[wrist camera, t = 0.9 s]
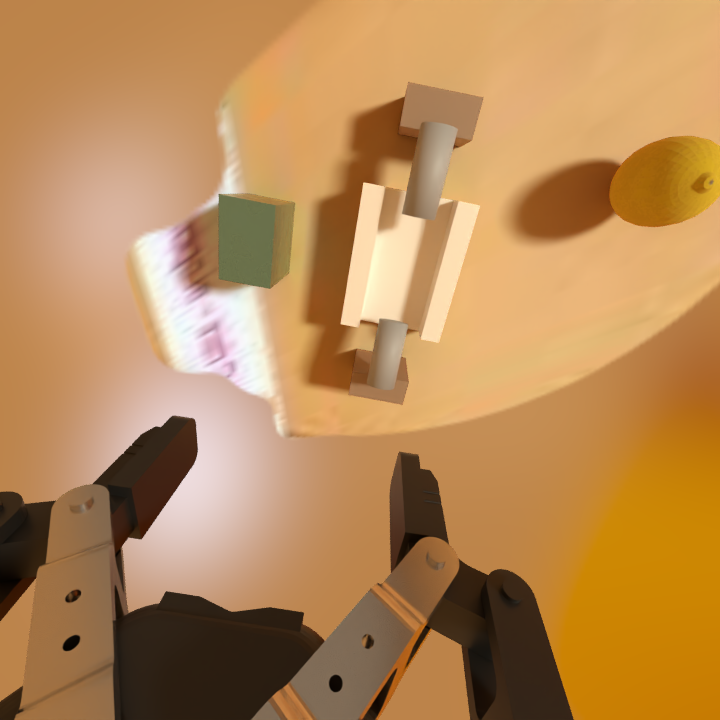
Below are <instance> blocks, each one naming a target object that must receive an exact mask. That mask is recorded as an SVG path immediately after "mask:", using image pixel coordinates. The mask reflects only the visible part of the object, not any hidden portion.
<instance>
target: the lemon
mask: <svg viewBox="0 0 720 720" xmlns="http://www.w3.org/2000/svg"><path fill="white" fill-rule="evenodd" d="M719 196H720V146H719V145H717V144H716V143H714V142H712V141H711V140H708V139H703V138H699V137H694V136H679V137H669V138H665V139H662V140H659V141H656V142H653V143H650V144H648V145H646V146H644V147H643V148H641V149H639V150H638V151H636V152H634V153H633V154H632V155H631V156H630V157H629V158H627V159H626V160H625V161H624V162H623V163H622V165H621V166H620V167H619V168H618V170H617V171H616V173H615V175H614V177H613V179H612V181H611V185H610V189H609V199H610V203H611V206H612V208H613V210H614V211H615V213H616V214H617V215H618V216H620V217H621V218H622V219H623V220H625V221H627V222H629V223H632V224H635V225H638V226H647V227H660V226H666V225H672V224H677V223H680V222H683V221H685V220H688V219H690V218H693V217H695V216H696V215H698V214H700V213H701V212H703V211H704V210H706V209H707V208H708V207H709V206H710V205H711V204H713V203H714V202H715V201H716V199H717V198H718V197H719Z"/></svg>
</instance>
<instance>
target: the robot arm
mask: <svg viewBox="0 0 720 720" xmlns="http://www.w3.org/2000/svg"><path fill="white" fill-rule="evenodd" d="M197 452H198V447H197V433H196V422H195V420H194V419H193V418H187V417H180V416H172V417H171V418H169V420H168V421H167V422H166V423H165V424H164V425H163V426H162V427H154V428H152V429H150V430H148V431H147V432H145V433H143V434H142V435H141V436H140V437H139V438H138V439H137V440H136V441H135V442H134V443H133V444H132V446H130V447H129V448H128V449H127V450H126V451H125V452H124V454H122V455H121V456H120V457H119V458H118V459H117V460H116V461H115V462H114V463H113V464H112V465H111V466H110V467H109V468H108V469H107V470H106V471H105V472H104V473H103V474H102V475H101V476H100V477H99V478H98V479H97V480H96V481H95V482H94V483H93V484H90V485H84V486H80V487H77V488H74V489H72V490H70V491H68V492H67V493H65V494H63V495H62V496H61V497H60V498H59V499H58V500H57V501H49V502H39V503H31V504H24V501H23V499H22V497H21V495H19V494H18V493H15V492H0V621H1V620H2V618H3V617H4V616H5V615H6V614H7V613H8V611H9V610H10V609H11V608H12V606H13V605H14V604H15V603H16V602H17V600H18V599H19V598H20V597H21V596H22V594H23V593H24V592H25V591H26V590H27V588H28V587H29V586H30V585H31V583H32V582H33V581H34V580H35V579H36V585H35V593H34V602H33V610H32V618H31V626H30V634H29V643H28V651H27V658H26V666H25V674H24V683H23V686H22V687H20V688H19V689H17V690H16V691H15V692H13V693H12V694H10V695H9V696H8V697H6V698H5V699H3V700H2V701H1V702H0V720H378V719H379V717H380V716H381V714H382V712H383V711H384V709H385V707H386V706H387V704H388V702H389V701H390V699H391V697H392V696H393V694H394V692H395V690H396V688H397V686H398V684H399V682H400V681H401V679H402V677H403V675H404V673H405V672H406V670H407V669H408V667H409V665H410V664H411V662H412V661H413V659H414V658H415V656H416V654H417V653H418V651H419V649H420V648H421V646H422V645H423V643H424V641H425V640H426V638H427V637H428V635H429V633H430V632H431V630H432V629H433V630H435V631H437V632H439V633H440V634H442V635H444V636H446V637H448V638H450V639H451V640H454V641H455V642H457V643H459V644H461V645H462V653H463V661H464V671H465V679H466V688H467V696H468V704H469V713H470V720H574V719H573V716H572V713H571V710H570V706H569V704H568V700H567V697H566V694H565V691H564V688H563V684H562V681H561V678H560V675H559V672H558V669H557V665H556V662H555V659H554V656H553V652H552V649H551V646H550V643H549V640H548V637H547V633H546V630H545V627H544V624H543V621H542V618H541V614H540V612H539V608H538V605H537V602H536V599H535V596H534V593H533V592H532V590H531V588H530V587H529V586H528V584H527V583H526V582H525V581H524V580H523V579H522V578H520V577H519V576H518V575H516V574H514V573H513V572H510V571H508V570H502V569H498V570H494V571H492V572H491V573H490V574H489V575H486V574H484V573H482V572H480V571H478V570H476V569H474V568H472V567H470V566H468V565H466V564H465V563H463V562H462V561H461V560H460V559H459V558H458V556H457V554H456V552H455V551H454V549H453V548H452V547H451V546H450V545H449V542H448V538H447V532H446V526H445V521H444V515H443V509H442V505H441V498H440V495H439V487H438V482H437V480H436V478H435V477H434V475H433V474H432V472H431V471H430V470H425V469H420V462H419V456H418V455H417V454H411V453H404V452H399V453H398V456H397V461H396V464H395V468H394V473H393V476H392V480H391V487H390V545H391V574H390V575H389V576H388V578H387V579H386V580H385V581H384V582H383V583H382V584H379V583H377V584H375V585H374V586H373V587H372V588H371V589H370V590H369V591H368V593H366V594H365V596H364V597H363V598H362V599H361V600H360V601H359V603H358V604H357V605H356V606H355V607H354V608H353V609H352V611H351V612H350V613H349V614H348V615H347V616H346V618H345V619H344V620H343V621H342V622H341V623H340V624H339V626H338V627H337V628H336V629H335V630H334V631H333V633H332V634H331V635H330V636H329V637H328V638H327V639H326V641H324V640H323V639H322V637H320V636H319V635H318V634H317V633H316V632H315V631H313V630H312V629H311V628H309V627H307V626H305V625H303V624H302V623H303V616H304V613H303V612H296V611H290V610H284V609H277V608H271V607H269V608H261V609H253V610H246V611H238V612H231V611H228V610H226V609H224V608H222V607H220V606H218V605H216V604H214V603H212V602H210V601H208V600H206V599H204V598H202V597H199V596H193V595H187V594H180V593H174V592H167V591H166V592H165V594H164V596H163V598H162V600H161V601H160V603H159V604H153V605H149V606H145V607H143V608H140V609H137V610H134V611H132V612H130V613H128V606H127V600H126V599H127V598H126V586H125V573H124V561H123V550H122V545H123V544H124V543H125V541H126V540H127V539H128V537H129V538H135V539H142V538H143V536H144V535H145V534H146V532H147V531H148V529H149V528H150V526H151V525H152V523H153V522H154V521H155V519H156V518H157V516H158V515H159V514H160V512H161V511H162V509H163V508H164V506H165V505H166V503H167V502H168V501H169V499H170V498H171V496H172V495H173V493H174V492H175V491H176V489H177V488H178V486H179V485H180V483H181V482H182V480H183V479H184V478H185V476H186V475H187V473H188V472H189V470H190V469H191V468H192V466H193V464H194V462H195V460H196V457H197Z"/></svg>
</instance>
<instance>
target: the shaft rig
mask: <svg viewBox="0 0 720 720" xmlns="http://www.w3.org/2000/svg"><path fill="white" fill-rule="evenodd" d="M482 101H483V97H478V96H473V95H468V94H464V93H459V92H454V91H449V90H444V89H439V88H434V87H429V86H425V85H420V84H415V83H410V82H408V86H407V90H406V95H405V99H404V105H403V110H402V115H401V120H400V126H399V131H398V134H401V135H406V136H411V137H416V138H418V140H417V145H416V149H415V154H414V159H413V163H412V168H411V173H410V178H409V182H408V187H407V191H403V190H398V189H393V188H388V187H385V186H380V185H375V184H370V183H365V182H364V183H363V189H362V196H361V202H360V208H359V214H358V220H357V226H356V232H355V239H354V245H353V251H352V257H351V263H350V269H349V276H348V282H347V288H346V294H345V300H344V306H343V313H342V319H341V324H343V325H348V326H353V327H359V325H360V320H364V321H369V322H374V323H378V328H377V333H376V338H375V343H374V348H373V352H371V351H366V350H361V349H357V351H356V356H355V362H354V367H353V372H352V378H351V384H350V390H349V395H353V396H358V397H364V398H369V399H374V400H380V401H385V402H391V403H396V404H401V405H403V401H404V397H405V394H406V390H407V387H408V383H409V381H408V373H407V365H406V358H403V357H401V355H402V351H403V346H404V342H405V337H406V333H407V329H411V330H416V331H419V335H420V339H422V340H427V341H432V342H438V343H439V340H440V337H441V334H442V330H443V327H444V324H445V321H446V317H447V314H448V311H449V307H450V304H451V301H452V297H453V294H454V291H455V287H456V284H457V281H458V278H459V274H460V271H461V268H462V264H463V261H464V258H465V254H466V251H467V248H468V244H469V241H470V238H471V235H472V231H473V228H474V225H475V221H476V218H477V215H478V211H479V208H480V205H475V204H470V203H465V202H460V201H454V200H449V199H444V198H441V194H442V190H443V186H444V182H445V178H446V174H447V170H448V166H449V162H450V158H451V155H452V151H453V147H454V145H455V146H460V147H461V146H463V145H465V144H466V143H468V142H470V141H471V140H472V138H473V134H474V131H475V127H476V123H477V120H478V116H479V112H480V109H481V105H482Z"/></svg>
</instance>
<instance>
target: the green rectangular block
mask: <svg viewBox="0 0 720 720" xmlns="http://www.w3.org/2000/svg"><path fill="white" fill-rule="evenodd" d="M294 209H295V203H294V202H289V201H283V200H278V199H273V198H268V197H263V196H258V195H253V194H219V279H222V280H227V281H232V282H238V283H243V284H248V285H253V286H259V287H264V288H269V289H271V288H272V287H273V286H274V285H275V284H276V283H278V282H279V281H280V280H281V279H282V278H283V277H285V276H286V275H287V274H288V273H289V267H290V255H291V244H292V232H293V221H294Z"/></svg>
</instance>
